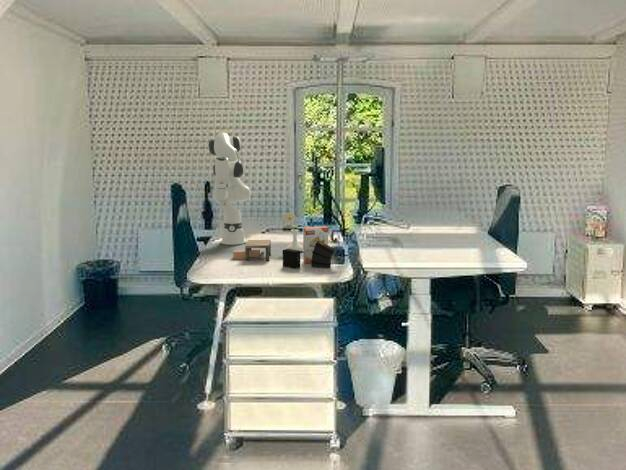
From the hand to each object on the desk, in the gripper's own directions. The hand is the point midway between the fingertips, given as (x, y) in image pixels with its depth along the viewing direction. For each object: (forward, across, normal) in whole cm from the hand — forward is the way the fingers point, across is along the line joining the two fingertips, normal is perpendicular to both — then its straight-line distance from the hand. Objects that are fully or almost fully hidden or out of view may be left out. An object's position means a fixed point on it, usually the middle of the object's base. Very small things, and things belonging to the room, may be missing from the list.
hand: (223, 206), depth 417 cm
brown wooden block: (+31, +5, +14) cm, 34 cm away
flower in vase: (+31, -14, +42) cm, 54 cm away
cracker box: (+31, +18, +56) cm, 67 cm away
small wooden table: (+31, +5, +21) cm, 38 cm away
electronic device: (+31, +31, +42) cm, 61 cm away
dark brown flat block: (+32, +32, +60) cm, 75 cm away
